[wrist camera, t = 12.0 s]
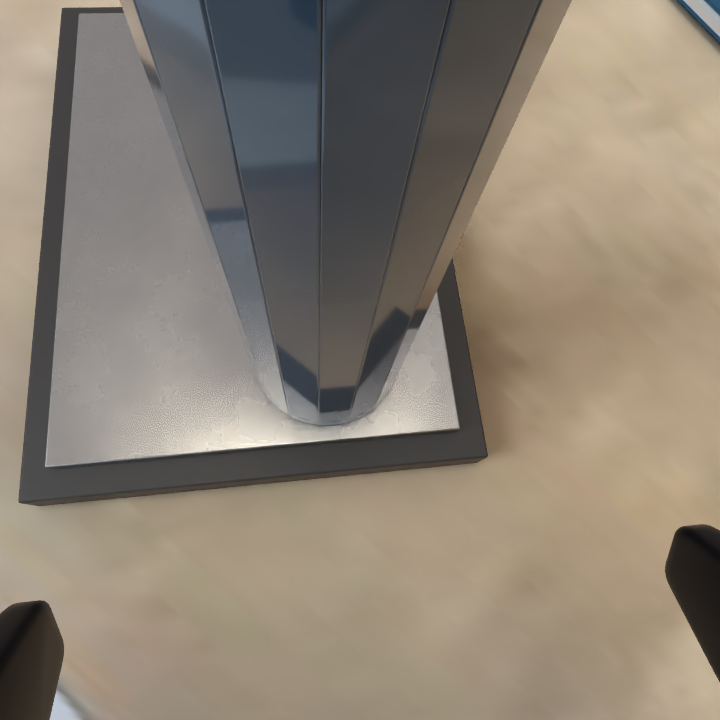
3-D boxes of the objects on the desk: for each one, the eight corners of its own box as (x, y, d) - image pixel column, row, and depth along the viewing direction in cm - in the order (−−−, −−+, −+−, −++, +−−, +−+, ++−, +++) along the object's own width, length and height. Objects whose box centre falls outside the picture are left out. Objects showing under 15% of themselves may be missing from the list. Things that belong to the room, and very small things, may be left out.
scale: (477, 463, 21) (493, 454, 19) (37, 506, 19) (8, 502, 18) (403, 29, 28) (408, -7, 26) (74, 34, 26) (56, -4, 24)
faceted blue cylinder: (406, 418, 19) (1039, -501, 2) (257, 432, 19) (-293, -633, 2) (387, 286, 21) (685, -818, 4) (250, 295, 20) (-76, -939, 3)
